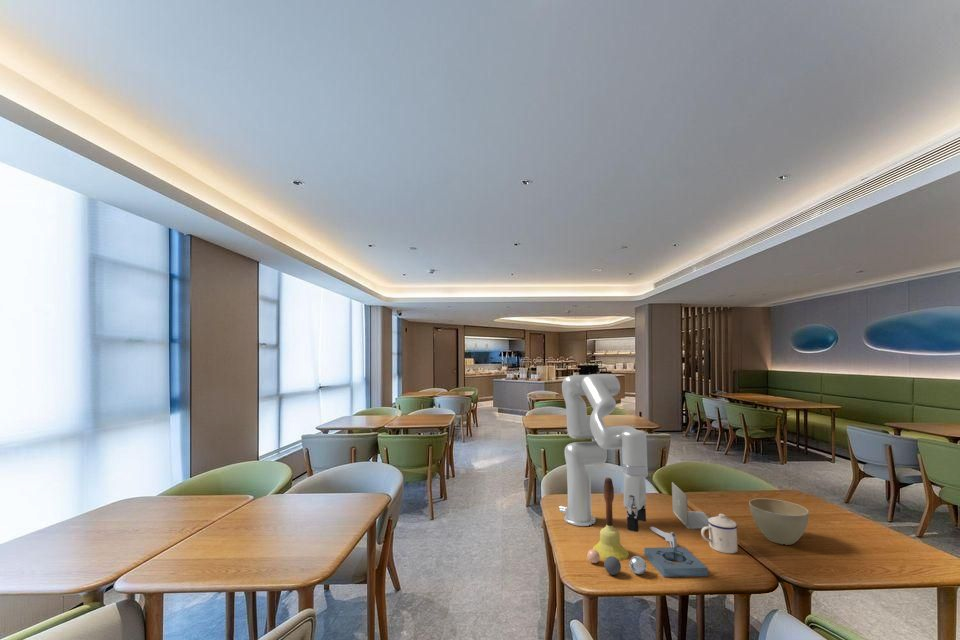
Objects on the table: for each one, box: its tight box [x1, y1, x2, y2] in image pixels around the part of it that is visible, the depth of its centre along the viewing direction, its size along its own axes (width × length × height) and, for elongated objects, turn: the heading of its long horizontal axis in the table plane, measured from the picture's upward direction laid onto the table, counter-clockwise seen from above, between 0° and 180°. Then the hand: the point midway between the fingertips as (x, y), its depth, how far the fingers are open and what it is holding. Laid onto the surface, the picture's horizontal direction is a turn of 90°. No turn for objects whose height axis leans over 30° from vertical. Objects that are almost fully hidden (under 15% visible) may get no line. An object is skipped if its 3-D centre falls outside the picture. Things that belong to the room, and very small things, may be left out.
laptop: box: [671, 481, 710, 530], centre depth 173 cm, size 18×12×13 cm
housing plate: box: [643, 546, 709, 578], centre depth 136 cm, size 14×14×2 cm
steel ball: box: [628, 555, 647, 575], centre depth 131 cm, size 5×5×5 cm
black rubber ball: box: [603, 556, 622, 576], centre depth 131 cm, size 5×5×5 cm
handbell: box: [591, 477, 630, 562], centre depth 146 cm, size 12×12×25 cm
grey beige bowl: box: [748, 497, 810, 546], centre depth 155 cm, size 18×18×12 cm
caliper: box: [649, 526, 678, 547], centre depth 155 cm, size 20×1×6 cm, turn 1°
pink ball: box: [586, 548, 601, 564], centre depth 138 cm, size 4×4×4 cm
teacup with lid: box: [700, 513, 738, 554], centre depth 149 cm, size 12×9×12 cm
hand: (637, 525), depth 132 cm, fingers open, 9 cm apart
